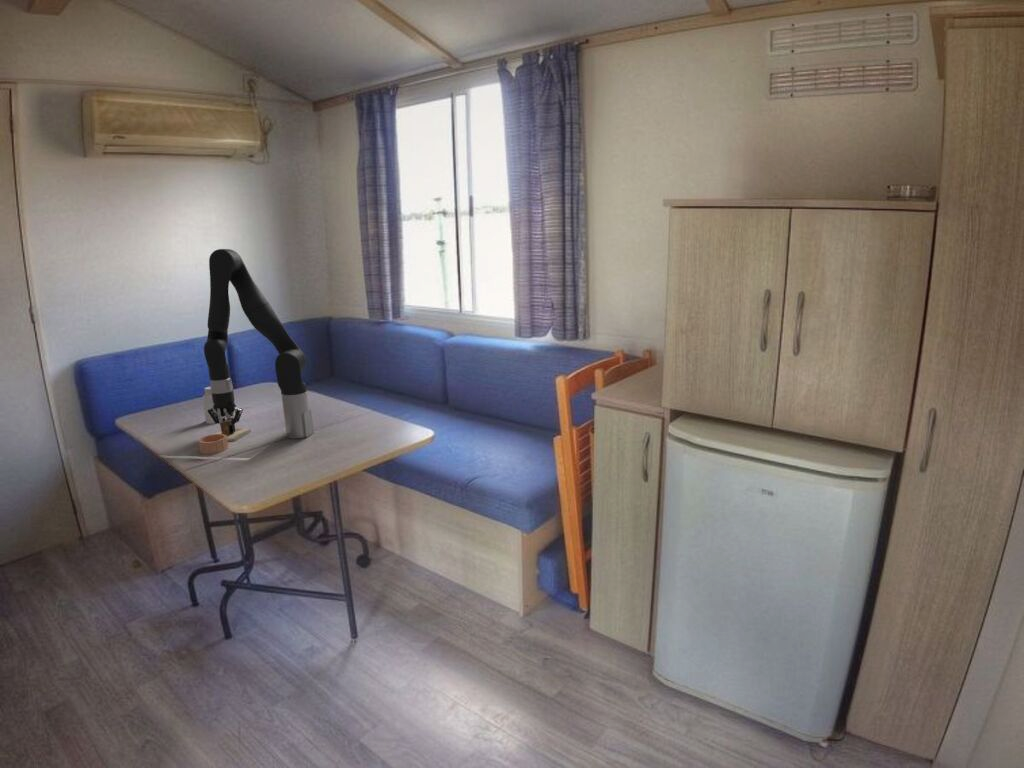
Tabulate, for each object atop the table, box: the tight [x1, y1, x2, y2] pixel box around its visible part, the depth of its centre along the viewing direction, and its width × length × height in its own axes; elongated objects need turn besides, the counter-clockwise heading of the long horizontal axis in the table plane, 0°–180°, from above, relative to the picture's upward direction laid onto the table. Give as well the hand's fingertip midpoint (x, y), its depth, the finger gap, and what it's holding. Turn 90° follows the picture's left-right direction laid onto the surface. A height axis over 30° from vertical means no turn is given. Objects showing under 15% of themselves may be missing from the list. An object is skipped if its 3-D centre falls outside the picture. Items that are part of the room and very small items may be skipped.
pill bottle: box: [201, 386, 227, 425], centre depth 252 cm, size 8×8×15 cm
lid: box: [214, 420, 251, 442], centre depth 234 cm, size 11×11×6 cm
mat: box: [228, 430, 252, 443], centre depth 235 cm, size 12×12×1 cm
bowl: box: [198, 433, 229, 455], centre depth 221 cm, size 9×9×5 cm
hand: (228, 433), depth 235 cm, fingers closed on lid
